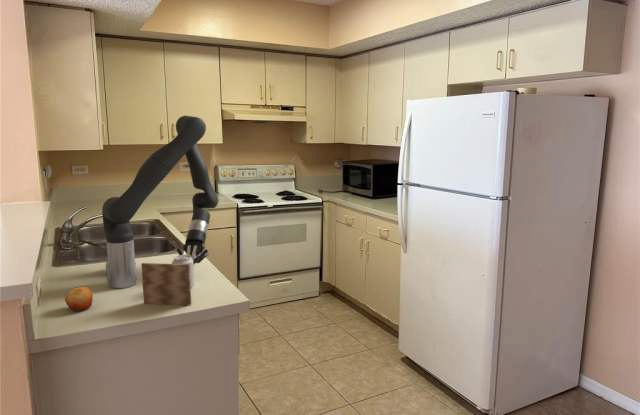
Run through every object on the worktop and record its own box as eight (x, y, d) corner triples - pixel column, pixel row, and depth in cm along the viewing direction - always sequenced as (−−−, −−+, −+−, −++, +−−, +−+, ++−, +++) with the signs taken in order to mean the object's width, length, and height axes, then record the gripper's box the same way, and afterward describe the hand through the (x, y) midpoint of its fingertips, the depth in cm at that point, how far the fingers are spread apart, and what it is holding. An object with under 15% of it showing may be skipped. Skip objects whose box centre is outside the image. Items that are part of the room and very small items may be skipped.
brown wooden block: (144, 303, 152) (141, 264, 149) (151, 297, 158) (149, 258, 155) (190, 305, 151) (188, 265, 149) (196, 298, 157) (194, 259, 154)
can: (173, 292, 163) (171, 260, 161) (173, 285, 170) (172, 254, 168) (194, 290, 165) (193, 258, 162) (194, 283, 172) (193, 253, 170)
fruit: (100, 297, 153) (93, 282, 148) (92, 317, 147) (84, 302, 142) (76, 297, 153) (68, 282, 148) (67, 317, 147) (58, 302, 142)
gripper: (178, 228, 179) (168, 267, 169) (211, 228, 178) (202, 267, 168) (183, 237, 185) (174, 275, 175) (215, 238, 184) (207, 276, 174)
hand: (188, 271), depth 172 cm, fingers closed
